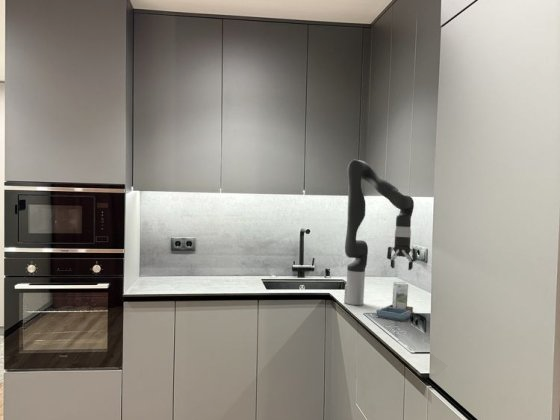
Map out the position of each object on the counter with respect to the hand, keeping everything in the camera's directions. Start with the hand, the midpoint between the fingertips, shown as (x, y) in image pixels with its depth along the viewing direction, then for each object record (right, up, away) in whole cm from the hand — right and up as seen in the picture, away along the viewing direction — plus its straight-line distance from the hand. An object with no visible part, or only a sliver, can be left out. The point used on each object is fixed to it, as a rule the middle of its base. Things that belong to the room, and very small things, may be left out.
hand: (401, 268), depth 226 cm
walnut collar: (-1, -21, 0) cm, 21 cm away
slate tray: (-7, -21, -12) cm, 25 cm away
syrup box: (-1, -21, 0) cm, 21 cm away
